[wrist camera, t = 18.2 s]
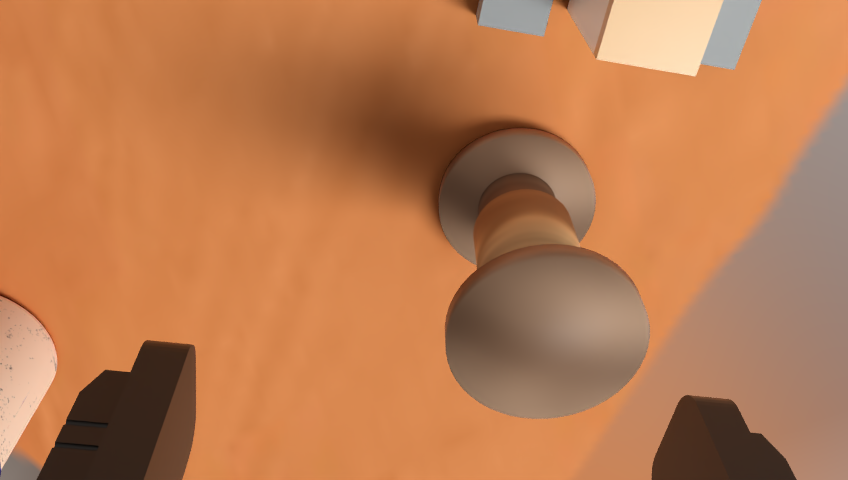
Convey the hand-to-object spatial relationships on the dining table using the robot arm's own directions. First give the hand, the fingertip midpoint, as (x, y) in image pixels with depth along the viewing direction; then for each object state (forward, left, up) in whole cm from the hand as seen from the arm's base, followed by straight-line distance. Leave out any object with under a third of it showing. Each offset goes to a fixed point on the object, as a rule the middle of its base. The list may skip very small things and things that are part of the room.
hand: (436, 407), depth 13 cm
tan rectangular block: (-3, +9, -27) cm, 28 cm away
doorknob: (+10, +7, -27) cm, 29 cm away
